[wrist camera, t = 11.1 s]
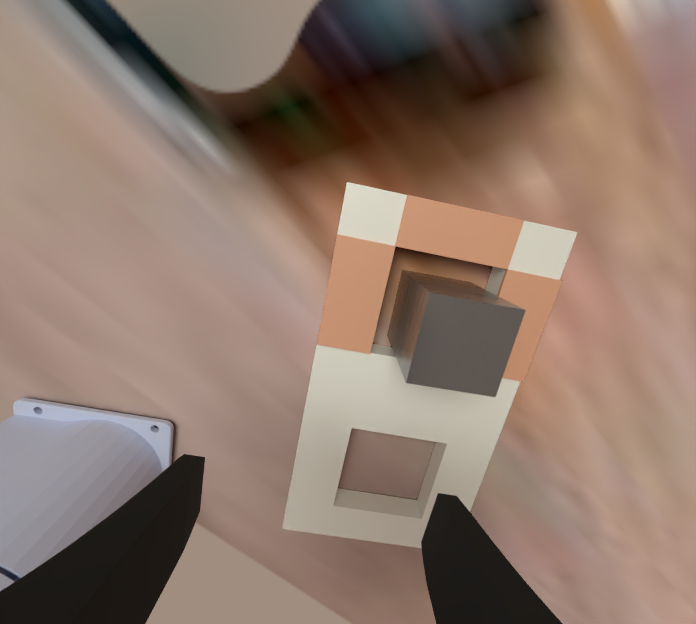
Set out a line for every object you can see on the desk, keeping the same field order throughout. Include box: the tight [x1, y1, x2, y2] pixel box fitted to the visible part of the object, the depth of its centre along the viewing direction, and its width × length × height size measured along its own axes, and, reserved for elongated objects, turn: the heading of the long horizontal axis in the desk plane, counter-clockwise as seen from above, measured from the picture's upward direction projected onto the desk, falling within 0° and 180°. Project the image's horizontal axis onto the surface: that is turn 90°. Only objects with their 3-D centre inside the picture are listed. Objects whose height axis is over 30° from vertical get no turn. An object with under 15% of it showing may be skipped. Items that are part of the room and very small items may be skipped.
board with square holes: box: [282, 182, 577, 548], centre depth 20 cm, size 12×22×2 cm, turn 169°
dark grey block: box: [387, 270, 526, 397], centre depth 16 cm, size 4×4×6 cm
